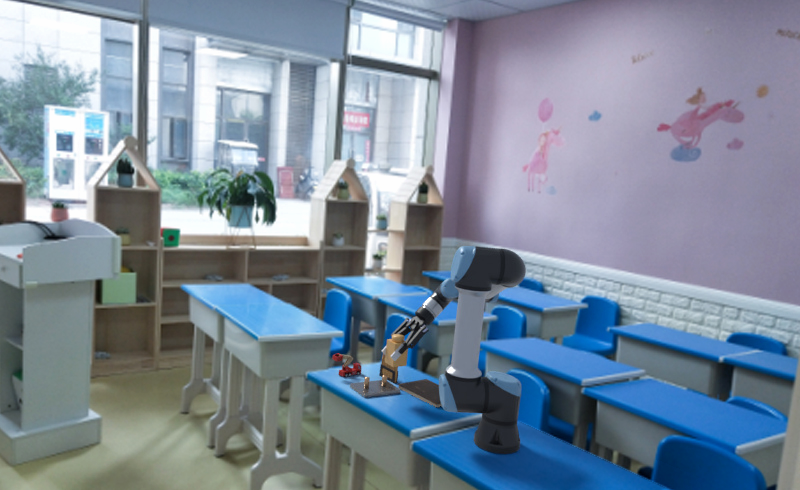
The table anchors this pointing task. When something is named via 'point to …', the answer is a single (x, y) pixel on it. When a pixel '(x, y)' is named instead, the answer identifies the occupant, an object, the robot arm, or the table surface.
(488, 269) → the robot arm
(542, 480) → the table surface
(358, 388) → the slate tray with handles
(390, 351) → the wooden knobbed peg
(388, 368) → the ammunition clip
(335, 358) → the toy fire truck
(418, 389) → the hardcover book
